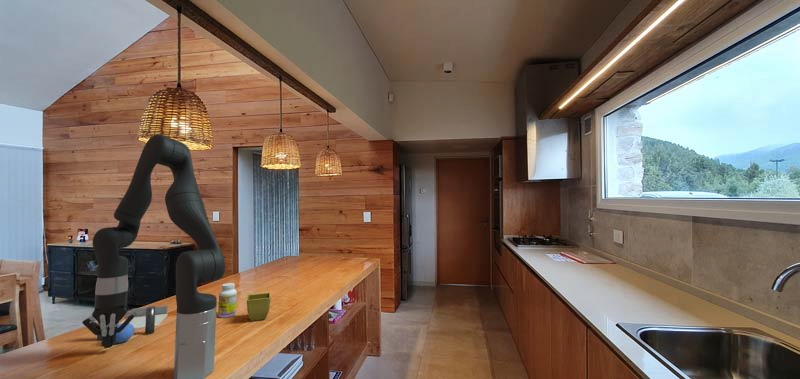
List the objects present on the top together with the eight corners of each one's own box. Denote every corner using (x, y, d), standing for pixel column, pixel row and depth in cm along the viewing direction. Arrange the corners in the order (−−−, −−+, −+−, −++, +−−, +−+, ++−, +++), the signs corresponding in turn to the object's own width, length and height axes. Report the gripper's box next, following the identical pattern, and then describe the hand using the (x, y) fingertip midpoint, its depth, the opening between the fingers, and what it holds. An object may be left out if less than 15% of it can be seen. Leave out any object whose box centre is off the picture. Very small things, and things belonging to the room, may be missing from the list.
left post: (105, 339, 105) (106, 312, 106) (95, 341, 104) (97, 313, 105) (108, 337, 108) (110, 310, 108) (99, 338, 107) (100, 311, 107)
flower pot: (246, 316, 128) (247, 294, 129) (269, 313, 132) (270, 292, 132) (245, 324, 120) (246, 300, 121) (270, 320, 124) (270, 297, 124)
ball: (138, 320, 108) (136, 338, 107) (117, 321, 106) (115, 340, 105) (130, 324, 103) (127, 344, 102) (107, 326, 101) (105, 346, 100)
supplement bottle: (214, 316, 128) (215, 285, 129) (229, 311, 134) (230, 281, 135) (224, 319, 125) (225, 287, 126) (239, 314, 131) (240, 283, 132)
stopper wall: (166, 313, 131) (166, 306, 132) (130, 317, 127) (131, 309, 127) (167, 312, 133) (167, 305, 133) (132, 316, 128) (132, 308, 128)
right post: (152, 333, 110) (154, 308, 111) (143, 335, 109) (145, 309, 110) (155, 331, 113) (156, 306, 113) (146, 332, 112) (147, 306, 112)
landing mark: (157, 326, 118) (157, 325, 118) (110, 331, 112) (110, 331, 112) (168, 314, 130) (168, 313, 130) (126, 318, 125) (126, 318, 125)
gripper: (77, 296, 91) (73, 356, 90) (133, 291, 97) (130, 348, 96) (90, 289, 98) (86, 345, 97) (142, 285, 104) (139, 338, 103)
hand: (108, 346), depth 96 cm, fingers closed
